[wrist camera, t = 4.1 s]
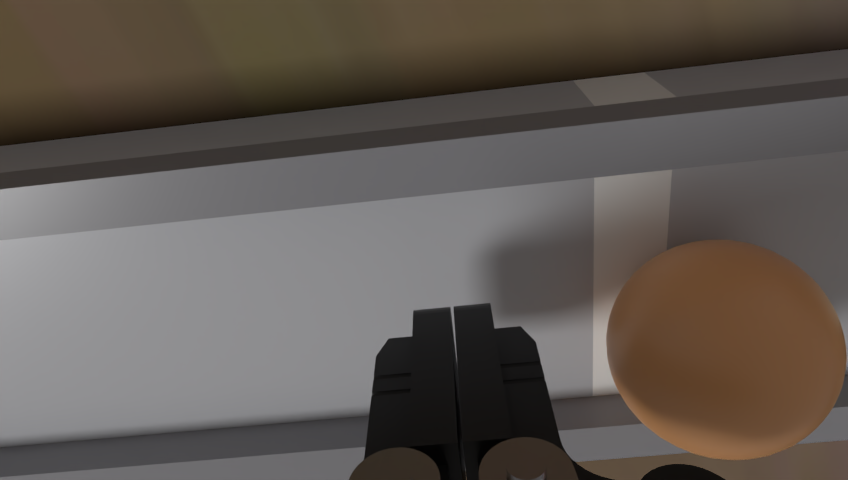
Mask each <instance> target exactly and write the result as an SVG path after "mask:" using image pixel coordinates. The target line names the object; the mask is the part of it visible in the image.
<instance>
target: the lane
mask: <svg viewBox="0 0 848 480" xmlns="http://www.w3.org/2000/svg"><path fill="white" fill-rule="evenodd" d="M702 240H734V241H740V242H746V243H751V244H754V245H757V246H760V247H763V248H766V249H769V250H771V251H773V252H775V253H777V254H779V255H781V256H783V257H785V258H787V259H788V260H790V261H792V262H793V263H794V264H796V265H797V266H799V267H800V268H801V269H802V270H803V271H805V272H806V273H807V274H808V275H809V276H810V277H811V278H813V280H814V281H815V282H816V283H817V284H818V285H819V286H820V287H821V289H822V290H823V291H824V293H825V294H826V295H827V297H828V299H829V300H830V302H831V304H832V305H833V307H834V309H835V311H836V313H837V315H838V318H839V320H840V323H841V326H842V330H843V333H844V338H845V344H846V354H847V362H846V371H845V377H844V382H843V386H842V389H841V392H840V394H839V397H838V399H837V401H836V403H835V405H834V407H833V408H832V410H831V412H830V413H829V414H828V416H827V417H826V418H825V420H824V421H823V422H822V423H821V424H820V425H819V426H818V428H817V429H815V430H814V431H813V432H812V433H811V434H810V435H808V436H807V437H806V438H804V439H803V440H801V441H800V442H798V443H797V444H803V443H815V442H828V441H840V440H848V49H843V50H834V51H825V52H817V53H808V54H799V55H791V56H782V57H773V58H764V59H756V60H747V61H738V62H730V63H721V64H712V65H703V66H695V67H686V68H677V69H668V70H660V71H651V72H642V73H634V74H625V75H616V76H607V77H599V78H590V79H581V80H572V81H564V82H555V83H546V84H538V85H529V86H520V87H511V88H503V89H494V90H485V91H477V92H468V93H459V94H450V95H442V96H433V97H424V98H415V99H407V100H398V101H389V102H381V103H372V104H363V105H354V106H346V107H337V108H328V109H320V110H311V111H302V112H293V113H285V114H276V115H267V116H258V117H250V118H241V119H232V120H224V121H215V122H206V123H197V124H189V125H180V126H171V127H162V128H154V129H145V130H136V131H128V132H119V133H110V134H101V135H93V136H84V137H75V138H67V139H58V140H49V141H40V142H32V143H23V144H14V145H5V146H0V480H349V478H350V476H351V474H352V472H353V471H354V469H355V468H356V467H357V466H358V465H359V464H360V463H361V462H362V461H363V460H364V456H365V447H366V439H367V430H368V421H369V413H370V404H371V396H372V386H373V380H374V369H375V360H376V356H377V354H378V353H379V351H380V350H381V349H382V347H383V346H384V344H385V343H386V341H387V340H388V339H389V338H399V337H410V336H412V330H413V311H414V310H421V309H432V308H443V307H450V308H451V315H452V324H453V332H454V341H455V350H456V338H455V323H454V306H462V305H473V304H483V303H490V304H491V310H492V316H493V322H494V328H506V327H517V326H521V327H522V328H523V329H524V330H525V331H526V332H527V333H528V334H529V335H530V336H531V337H532V338H533V339H534V340H535V341H536V345H537V349H538V353H539V357H540V361H541V365H542V369H543V372H544V376H545V381H546V384H547V388H548V392H549V396H550V400H551V404H552V408H553V412H554V416H555V420H556V424H557V428H558V432H559V436H560V440H561V443H562V446H563V448H564V449H565V451H566V453H567V454H568V455H569V456H570V458H571V459H572V460H573V461H574V462H579V461H592V460H604V459H617V458H629V457H641V456H654V455H666V454H679V453H691V452H688V451H686V450H683V449H681V448H678V447H676V446H674V445H673V444H671V443H669V442H667V441H666V440H664V439H662V438H660V437H659V436H658V435H656V434H655V433H654V432H652V431H651V430H650V429H649V428H647V427H646V426H645V425H644V424H643V423H642V422H641V421H640V420H639V419H638V418H637V417H636V416H635V414H634V413H633V412H632V411H631V410H630V409H629V407H628V406H627V405H626V403H625V401H624V400H623V398H622V396H621V395H620V393H619V391H618V389H617V387H616V385H615V383H614V380H613V378H612V375H611V371H610V368H609V364H608V358H607V347H606V334H607V327H608V321H609V316H610V313H611V310H612V308H613V305H614V302H615V300H616V298H617V296H618V294H619V293H620V291H621V289H622V288H623V286H624V285H625V283H626V282H627V281H628V280H629V279H630V277H631V276H632V275H633V274H634V273H635V272H636V271H637V270H638V269H639V268H640V267H642V266H643V265H644V264H645V263H646V262H647V261H649V260H651V259H652V258H654V257H655V256H657V255H658V254H660V253H662V252H665V251H667V250H669V249H671V248H673V247H676V246H679V245H683V244H686V243H690V242H695V241H702ZM456 359H457V353H456ZM465 471H466V468H465Z"/></svg>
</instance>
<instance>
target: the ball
mask: <svg viewBox="0 0 848 480" xmlns="http://www.w3.org/2000/svg"><path fill="white" fill-rule="evenodd" d="M606 347H607V358H608V364H609V368H610V371H611V375H612V378H613V380H614V383H615V385H616V387H617V389H618V391H619V393H620V395H621V396H622V398H623V400H624V401H625V403H626V405H627V406H628V407H629V409H630V410H631V411H632V412H633V413H634V414H635V416H636V417H637V418H638V419H639V420H640V421H641V422H642V423H643V424H644V425H645V426H646V427H647V428H649V429H650V430H651V431H652V432H654V433H655V434H656V435H658V436H659V437H660V438H662V439H664V440H666V441H667V442H669V443H671V444H673V445H674V446H676V447H678V448H681V449H683V450H686V451H688V452H691V453H694V454H697V455H701V456H705V457H709V458H716V459H725V460H746V459H755V458H760V457H765V456H769V455H772V454H774V453H777V452H780V451H782V450H785V449H788V448H790V447H791V446H793V445H795V444H797V443H798V442H800V441H801V440H803V439H804V438H806V437H807V436H808V435H810V434H811V433H812V432H813V431H814V430H815V429H817V428H818V426H819V425H820V424H821V423H822V422H823V421H824V420H825V418H826V417H827V416H828V414H829V413H830V412H831V410H832V408H833V407H834V405H835V403H836V401H837V399H838V397H839V394H840V392H841V389H842V386H843V382H844V377H845V371H846V362H847V354H846V344H845V338H844V333H843V330H842V326H841V323H840V320H839V318H838V315H837V313H836V311H835V309H834V307H833V305H832V304H831V302H830V300H829V299H828V297H827V295H826V294H825V293H824V291H823V290H822V289H821V287H820V286H819V285H818V284H817V283H816V282H815V281H814V280H813V278H811V277H810V276H809V275H808V274H807V273H806V272H805V271H803V270H802V269H801V268H800V267H799V266H797V265H796V264H794V263H793V262H792V261H790V260H788V259H787V258H785V257H783V256H781V255H779V254H777V253H775V252H773V251H771V250H769V249H766V248H763V247H760V246H757V245H754V244H751V243H746V242H740V241H734V240H702V241H695V242H690V243H686V244H683V245H679V246H676V247H673V248H671V249H669V250H667V251H665V252H662V253H660V254H658V255H657V256H655V257H654V258H652V259H651V260H649V261H647V262H646V263H645V264H644V265H643V266H642V267H640V268H639V269H638V270H637V271H636V272H635V273H634V274H633V275H632V276H631V277H630V279H629V280H628V281H627V282H626V283H625V285H624V286H623V288H622V289H621V291H620V293H619V294H618V296H617V298H616V300H615V302H614V305H613V308H612V310H611V313H610V316H609V321H608V327H607V334H606Z"/></svg>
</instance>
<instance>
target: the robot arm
mask: <svg viewBox="0 0 848 480" xmlns="http://www.w3.org/2000/svg"><path fill="white" fill-rule="evenodd" d="M454 323H455V338H456V350H455V341H454V332H453V324H452V315H451V308H450V307H443V308H432V309H421V310H414V311H413V330H412V336H410V337H399V338H389V339H388V340H387V341H386V343H385V344H384V346H383V347H382V349H381V350H380V351H379V353H378V354H377V356H376V360H375V369H374V380H373V386H372V396H371V404H370V413H369V421H368V430H367V439H366V447H365V456H364V460H363V461H362V462H361V463H360V464H359V465H358V466H357V467H356V468H355V469H354V471H353V472H352V474H351V476H350V478H349V480H466V477H467V480H613V479H609V478H605V477H601V476H598V475H596V474H593V473H591V472H589V471H587V470H585V469H584V468H582V467H581V466H579V465H578V464H577V463H576V462H574V461H573V460H572V459H571V458H570V456H569V455H568V454H567V453H566V451H565V449H564V448H563V446H562V443H561V440H560V436H559V432H558V428H557V424H556V420H555V416H554V412H553V408H552V404H551V400H550V396H549V392H548V388H547V384H546V381H545V376H544V372H543V369H542V365H541V361H540V357H539V353H538V349H537V345H536V341H535V340H534V339H533V338H532V337H531V336H530V335H529V334H528V333H527V332H526V331H525V330H524V329H523V328H522V327H521V326H517V327H506V328H494V322H493V316H492V310H491V304H490V303H483V304H473V305H462V306H454ZM456 353H457V359H456ZM465 468H466V471H465ZM641 480H725V479H723V478H722V477H720V476H718V475H716V474H714V473H713V472H711V471H708V470H705V469H703V468H700V467H696V466H692V465H685V464H672V465H665V466H661V467H658V468H656V469H654V470H651V471H650V472H649V473H647V474H646V475H645V476H644V477H643V478H642V479H641Z"/></svg>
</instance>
